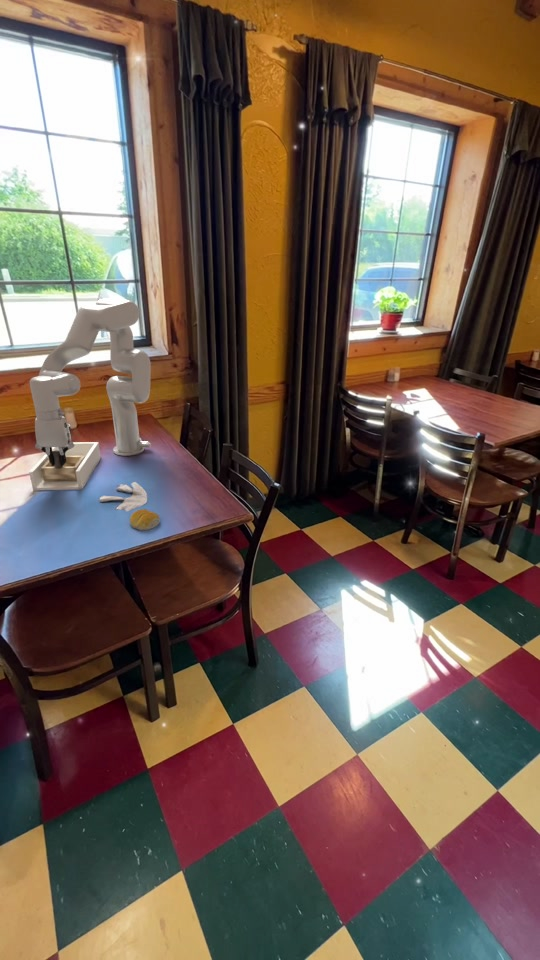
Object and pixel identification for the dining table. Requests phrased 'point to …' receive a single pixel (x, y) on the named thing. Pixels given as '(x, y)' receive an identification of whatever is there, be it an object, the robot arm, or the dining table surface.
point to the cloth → (129, 502)
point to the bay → (82, 472)
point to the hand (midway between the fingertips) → (58, 464)
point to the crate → (61, 468)
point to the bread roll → (144, 520)
